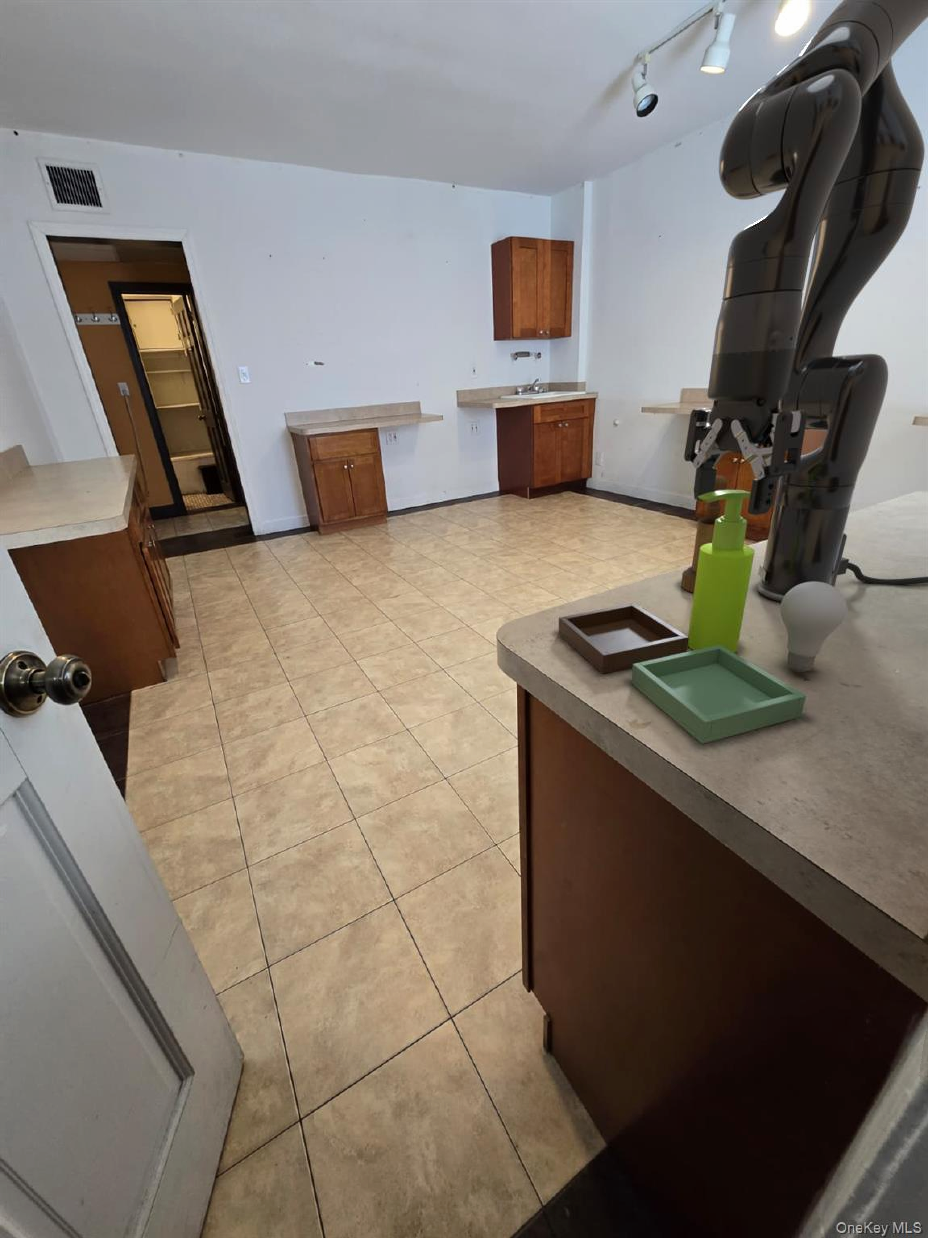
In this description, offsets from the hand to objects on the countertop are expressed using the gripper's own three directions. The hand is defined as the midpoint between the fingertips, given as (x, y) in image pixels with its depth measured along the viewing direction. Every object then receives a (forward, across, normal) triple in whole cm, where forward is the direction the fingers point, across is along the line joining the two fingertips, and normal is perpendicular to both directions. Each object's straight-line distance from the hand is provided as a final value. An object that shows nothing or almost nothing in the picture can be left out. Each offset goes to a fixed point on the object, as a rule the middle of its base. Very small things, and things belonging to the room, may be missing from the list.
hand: (728, 506), depth 59 cm
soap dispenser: (+18, 0, 0) cm, 19 cm away
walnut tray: (+18, +5, +10) cm, 21 cm away
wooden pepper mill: (+18, +17, -13) cm, 28 cm away
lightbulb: (+18, -9, -5) cm, 21 cm away
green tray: (+18, -10, +8) cm, 22 cm away
